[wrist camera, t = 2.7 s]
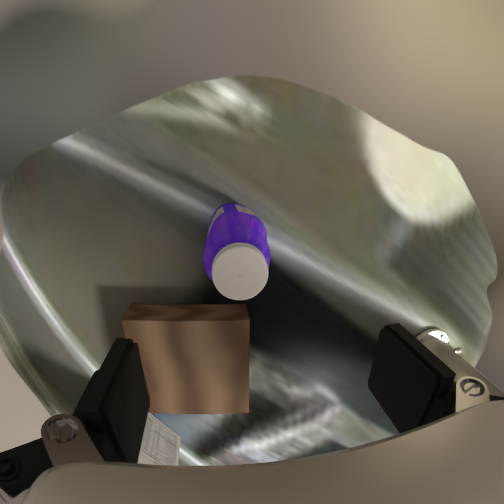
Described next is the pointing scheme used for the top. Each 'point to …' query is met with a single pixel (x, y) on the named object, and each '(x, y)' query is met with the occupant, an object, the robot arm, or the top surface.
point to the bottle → (237, 252)
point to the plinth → (193, 356)
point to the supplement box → (159, 444)
